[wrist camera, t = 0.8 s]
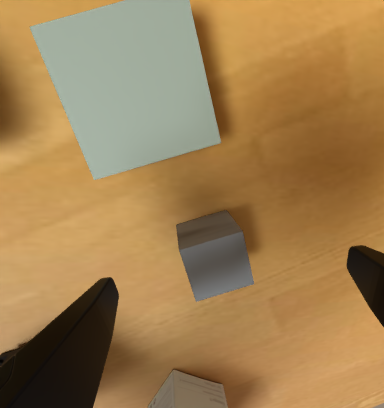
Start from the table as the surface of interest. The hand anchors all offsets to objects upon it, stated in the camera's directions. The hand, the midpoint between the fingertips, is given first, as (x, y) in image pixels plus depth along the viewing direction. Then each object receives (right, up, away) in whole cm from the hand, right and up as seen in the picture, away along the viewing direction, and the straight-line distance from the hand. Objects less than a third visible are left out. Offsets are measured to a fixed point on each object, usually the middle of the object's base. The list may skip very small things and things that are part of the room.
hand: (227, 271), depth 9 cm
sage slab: (-5, +10, +8) cm, 14 cm away
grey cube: (0, -1, +14) cm, 14 cm away
